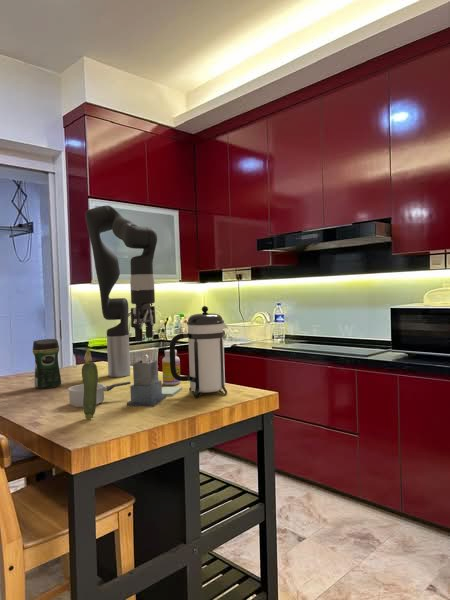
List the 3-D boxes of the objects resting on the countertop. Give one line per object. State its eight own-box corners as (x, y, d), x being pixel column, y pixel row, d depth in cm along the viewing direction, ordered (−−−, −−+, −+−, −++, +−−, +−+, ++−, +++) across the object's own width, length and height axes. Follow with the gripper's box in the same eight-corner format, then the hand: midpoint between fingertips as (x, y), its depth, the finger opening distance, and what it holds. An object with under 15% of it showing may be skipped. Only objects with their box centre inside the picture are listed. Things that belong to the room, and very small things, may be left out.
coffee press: (201, 386, 161) (198, 305, 161) (238, 390, 152) (234, 304, 151) (169, 396, 147) (166, 307, 146) (207, 402, 138) (204, 307, 137)
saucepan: (135, 401, 142) (134, 384, 142) (70, 410, 134) (69, 392, 134) (127, 394, 153) (126, 378, 153) (66, 402, 144) (65, 386, 144)
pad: (155, 388, 160) (155, 386, 160) (181, 389, 158) (181, 387, 158) (145, 395, 150) (145, 393, 150) (172, 396, 148) (172, 393, 148)
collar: (141, 381, 145) (140, 360, 145) (158, 381, 143) (157, 360, 143) (133, 385, 139) (132, 363, 139) (151, 385, 138) (150, 363, 137)
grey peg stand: (140, 397, 148) (139, 353, 147) (166, 397, 146) (164, 352, 145) (126, 406, 137) (124, 358, 136) (153, 406, 135) (151, 358, 135)
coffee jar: (59, 383, 176) (57, 337, 176) (62, 386, 169) (60, 338, 169) (33, 386, 171) (30, 339, 171) (35, 390, 164) (33, 341, 164)
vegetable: (85, 416, 127) (82, 347, 126) (100, 415, 127) (98, 347, 127) (81, 421, 122) (79, 349, 122) (97, 420, 123) (94, 349, 122)
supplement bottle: (173, 386, 163) (172, 351, 163) (159, 384, 167) (158, 351, 166) (183, 382, 169) (182, 349, 169) (170, 381, 172) (168, 348, 172)
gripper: (140, 289, 148) (142, 337, 149) (121, 289, 134) (123, 342, 135) (161, 288, 147) (163, 336, 147) (144, 288, 133) (146, 341, 133)
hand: (144, 339), depth 141 cm, fingers open, 8 cm apart
